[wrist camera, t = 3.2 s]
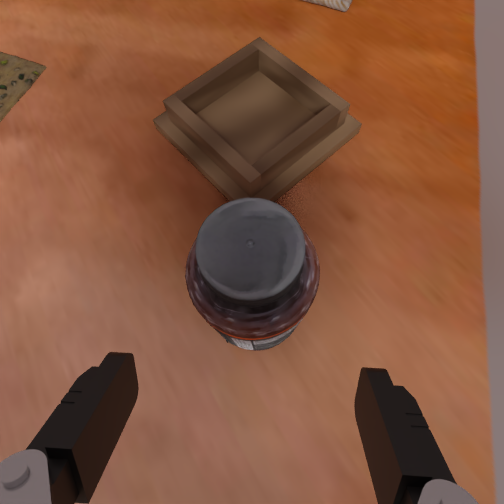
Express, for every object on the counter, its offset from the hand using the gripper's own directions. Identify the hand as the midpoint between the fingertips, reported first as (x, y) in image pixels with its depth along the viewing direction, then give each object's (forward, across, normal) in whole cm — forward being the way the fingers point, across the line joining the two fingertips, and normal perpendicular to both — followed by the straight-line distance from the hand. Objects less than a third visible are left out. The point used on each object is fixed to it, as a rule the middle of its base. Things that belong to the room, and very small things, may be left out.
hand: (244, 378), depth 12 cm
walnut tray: (+20, +1, -7) cm, 22 cm away
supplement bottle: (+10, 0, +4) cm, 11 cm away
